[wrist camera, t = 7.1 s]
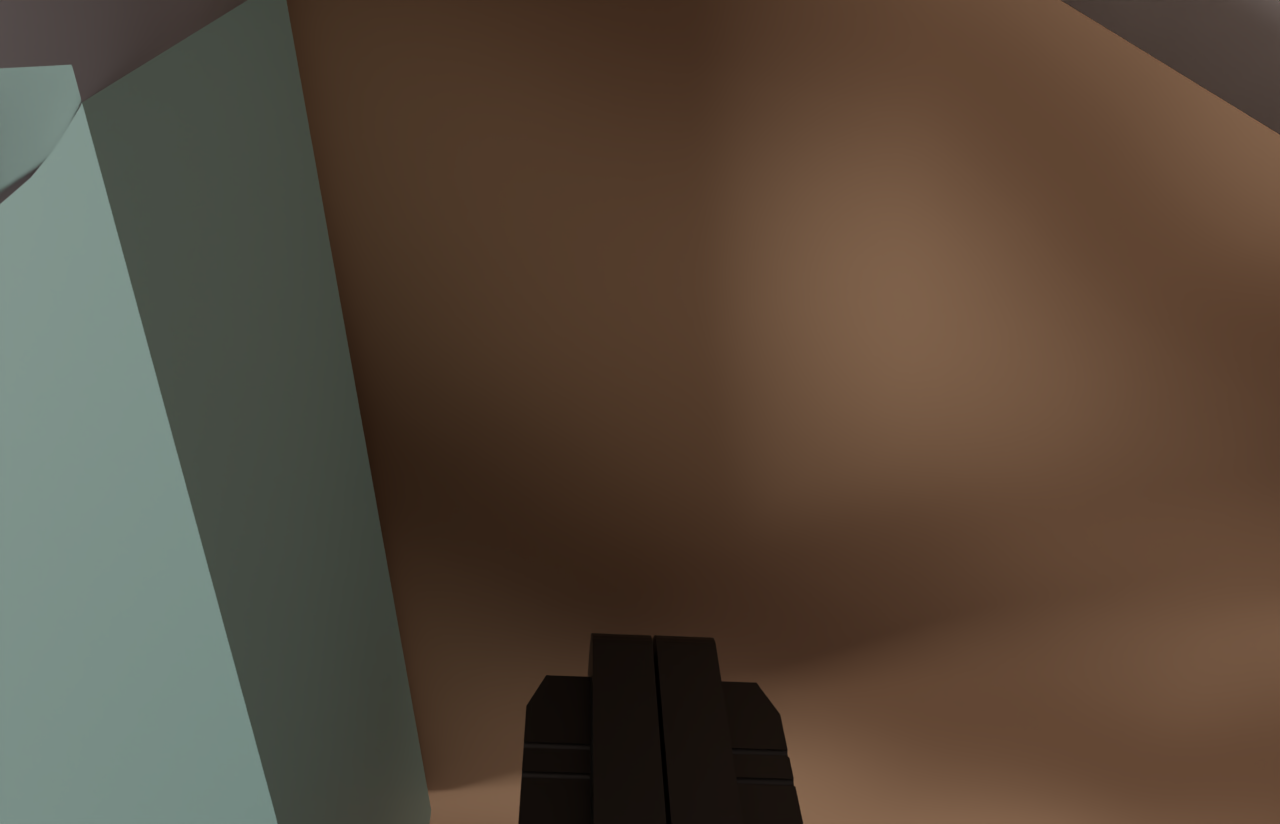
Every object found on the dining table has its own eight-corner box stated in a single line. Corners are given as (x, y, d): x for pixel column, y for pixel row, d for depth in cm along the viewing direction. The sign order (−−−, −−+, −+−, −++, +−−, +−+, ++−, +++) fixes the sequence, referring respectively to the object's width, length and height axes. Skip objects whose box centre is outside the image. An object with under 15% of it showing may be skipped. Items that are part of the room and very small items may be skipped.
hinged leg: (-260, -432, 9) (-1079, -674, 4) (256, -452, 9) (-34, -703, 5) (166, 830, 15) (11, 1238, 11) (460, 807, 16) (421, 1201, 11)
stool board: (-178, -734, 10) (-1586, -1771, 3) (1722, 421, 17) (2443, 799, 11) (-370, 534, 16) (-1026, 1049, 9) (1109, 999, 23) (1329, 1475, 17)
